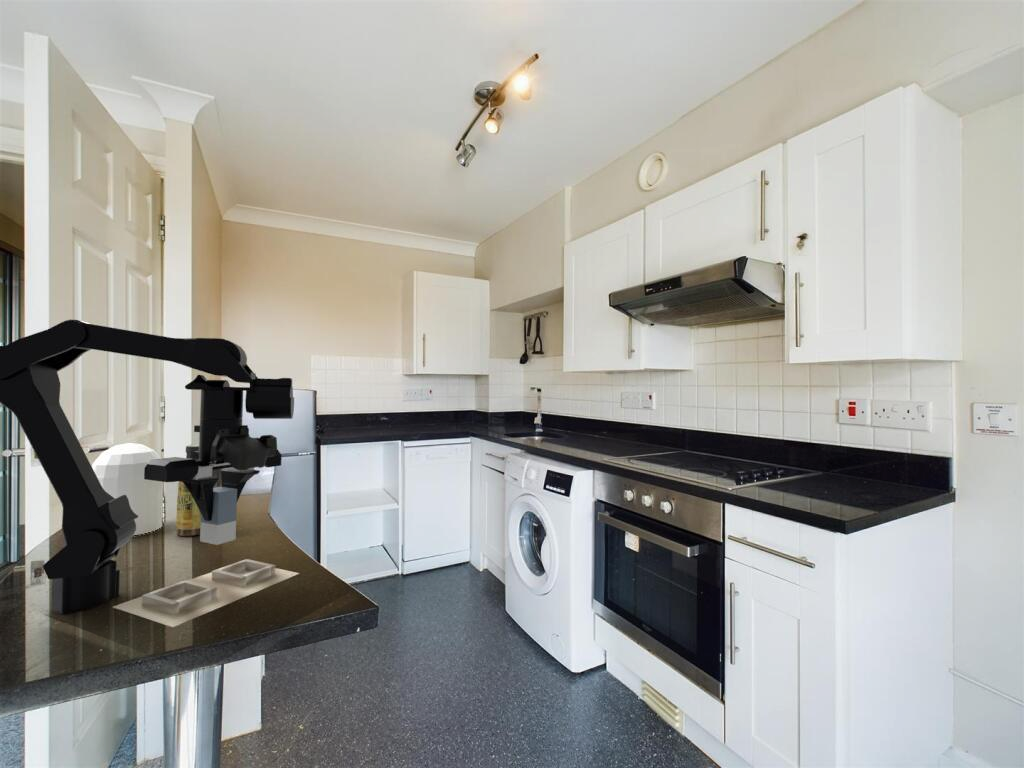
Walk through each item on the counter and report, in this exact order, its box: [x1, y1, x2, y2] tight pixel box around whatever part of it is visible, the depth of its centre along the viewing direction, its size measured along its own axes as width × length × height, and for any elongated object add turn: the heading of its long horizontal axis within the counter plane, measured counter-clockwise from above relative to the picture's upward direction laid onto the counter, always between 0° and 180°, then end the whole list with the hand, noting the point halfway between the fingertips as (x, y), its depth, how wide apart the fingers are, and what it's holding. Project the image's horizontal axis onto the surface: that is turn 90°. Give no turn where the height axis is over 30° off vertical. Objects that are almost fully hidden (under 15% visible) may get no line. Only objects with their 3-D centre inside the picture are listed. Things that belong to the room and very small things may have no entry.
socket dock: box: [112, 558, 300, 628], centre depth 72 cm, size 20×14×2 cm
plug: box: [199, 486, 238, 546], centre depth 73 cm, size 3×4×8 cm
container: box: [91, 442, 164, 535], centre depth 106 cm, size 14×13×20 cm
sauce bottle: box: [175, 443, 201, 537], centre depth 104 cm, size 7×6×20 cm
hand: (218, 518), depth 73 cm, fingers closed on plug, 3 cm apart
